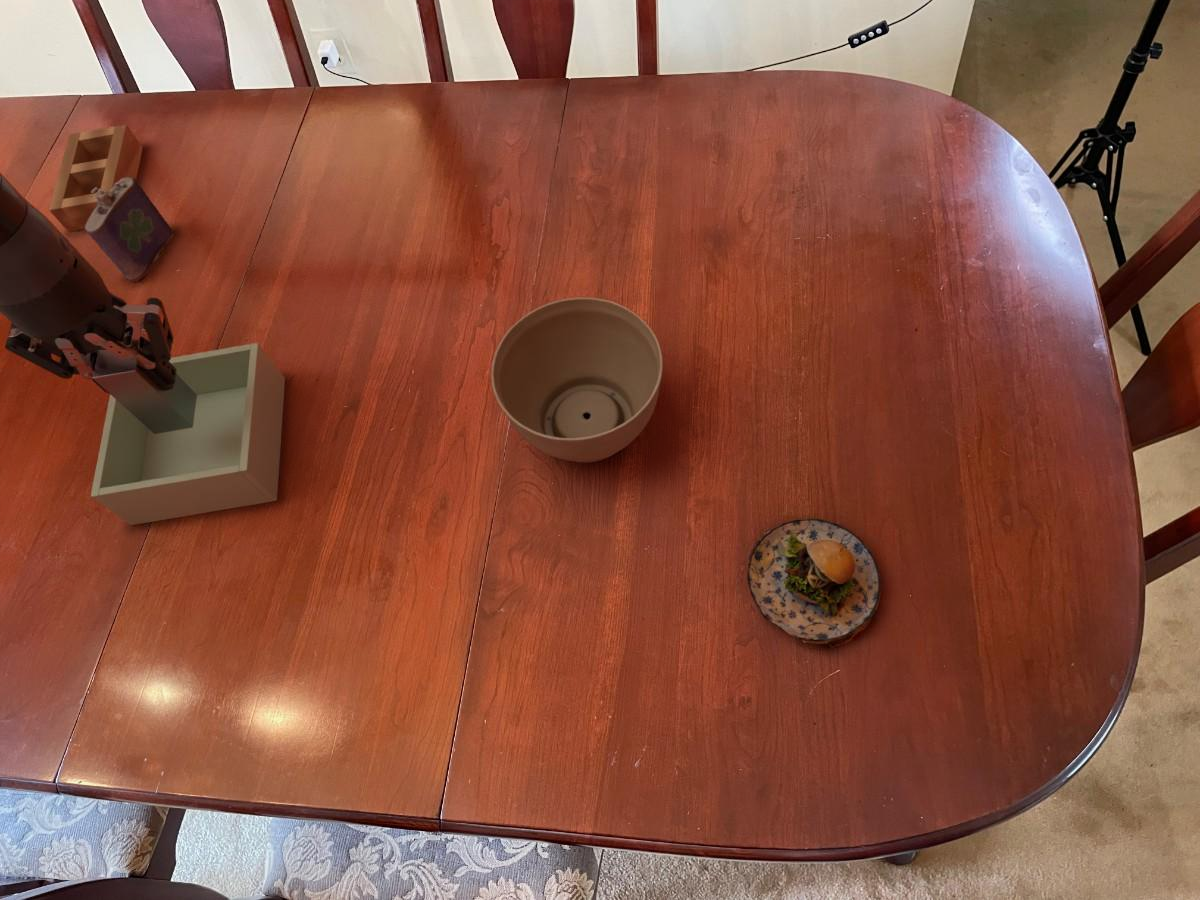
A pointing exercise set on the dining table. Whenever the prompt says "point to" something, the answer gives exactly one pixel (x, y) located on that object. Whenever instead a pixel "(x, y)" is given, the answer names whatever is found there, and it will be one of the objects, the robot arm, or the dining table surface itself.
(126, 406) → the grey rectangular block
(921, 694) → the dining table surface
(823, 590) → the burger
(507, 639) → the dining table surface
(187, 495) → the tub
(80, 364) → the robot arm
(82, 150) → the rack
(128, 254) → the flask
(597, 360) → the planter bowl
